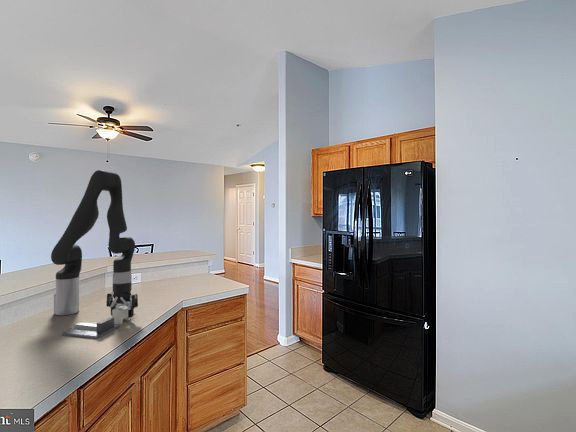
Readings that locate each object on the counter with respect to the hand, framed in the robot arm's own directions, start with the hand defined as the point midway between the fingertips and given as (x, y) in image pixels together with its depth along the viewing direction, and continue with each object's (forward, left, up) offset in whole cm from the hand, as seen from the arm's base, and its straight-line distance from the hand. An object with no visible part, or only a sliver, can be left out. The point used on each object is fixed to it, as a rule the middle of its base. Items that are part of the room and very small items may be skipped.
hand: (122, 316), depth 133 cm
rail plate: (-4, -12, -2) cm, 13 cm away
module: (0, 0, -2) cm, 2 cm away
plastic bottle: (-13, +16, -2) cm, 21 cm away
